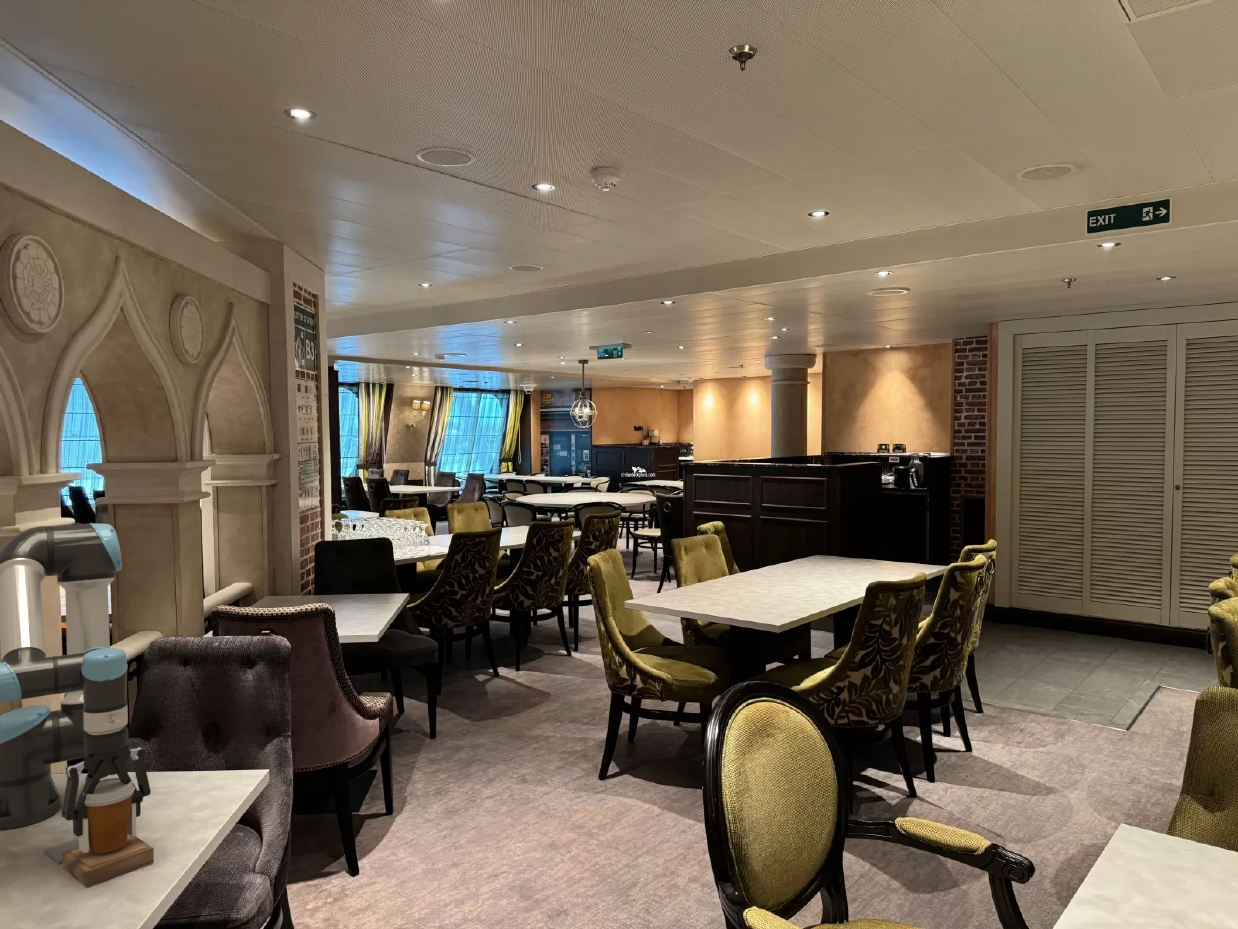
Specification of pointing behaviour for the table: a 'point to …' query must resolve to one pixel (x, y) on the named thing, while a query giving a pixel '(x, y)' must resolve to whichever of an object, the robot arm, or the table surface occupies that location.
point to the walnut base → (107, 861)
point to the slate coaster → (61, 850)
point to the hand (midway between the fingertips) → (108, 842)
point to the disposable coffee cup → (108, 815)
